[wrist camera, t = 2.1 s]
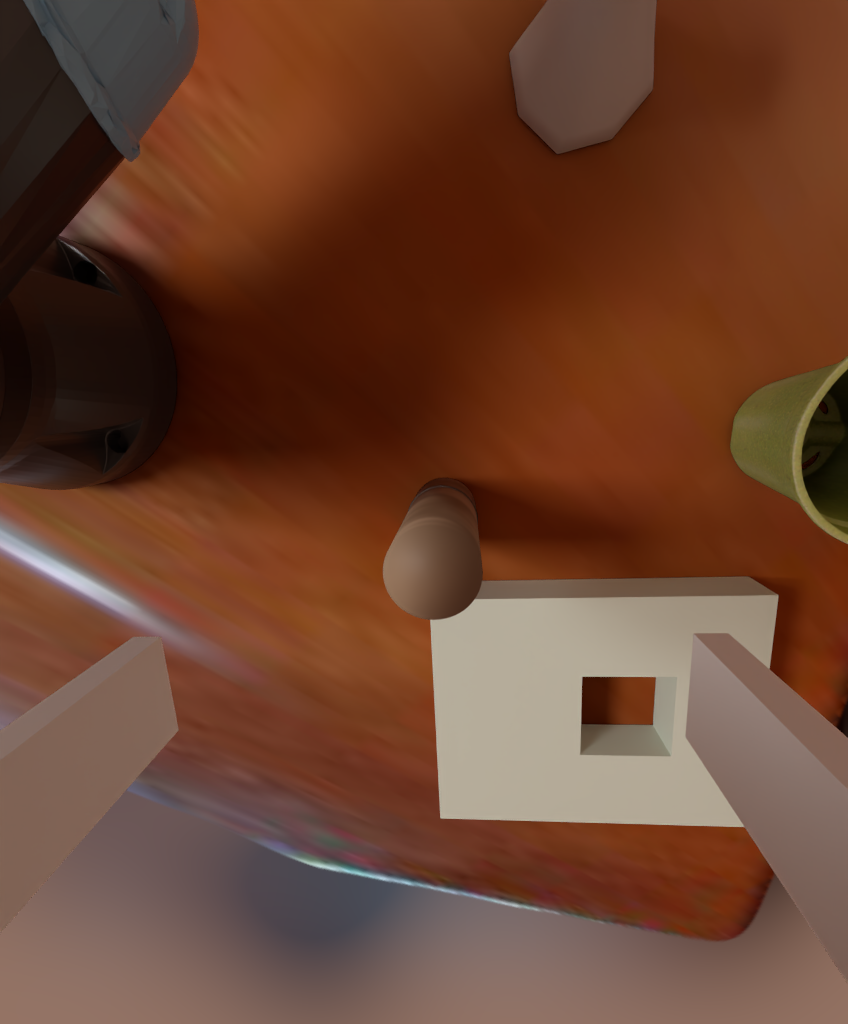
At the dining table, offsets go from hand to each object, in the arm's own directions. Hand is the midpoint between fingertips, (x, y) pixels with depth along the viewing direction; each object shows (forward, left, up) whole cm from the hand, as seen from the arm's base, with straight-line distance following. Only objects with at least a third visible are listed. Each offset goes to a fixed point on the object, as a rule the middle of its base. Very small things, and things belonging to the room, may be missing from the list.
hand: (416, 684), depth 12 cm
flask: (+8, +23, -20) cm, 31 cm away
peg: (0, 0, -20) cm, 20 cm away
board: (+9, -13, -20) cm, 25 cm away
